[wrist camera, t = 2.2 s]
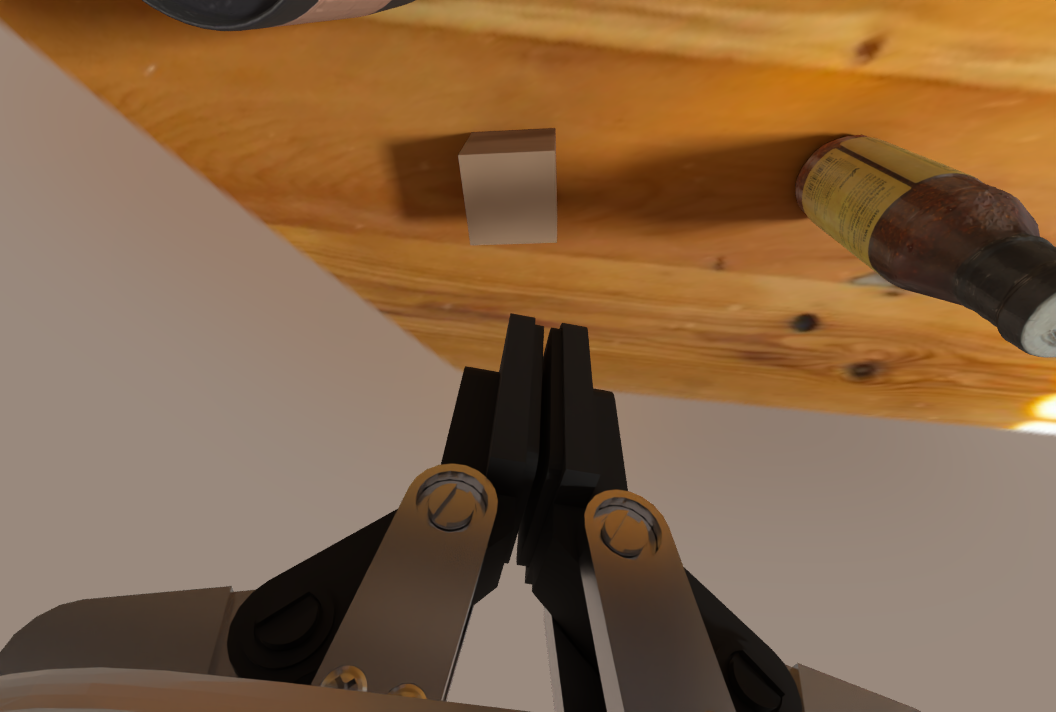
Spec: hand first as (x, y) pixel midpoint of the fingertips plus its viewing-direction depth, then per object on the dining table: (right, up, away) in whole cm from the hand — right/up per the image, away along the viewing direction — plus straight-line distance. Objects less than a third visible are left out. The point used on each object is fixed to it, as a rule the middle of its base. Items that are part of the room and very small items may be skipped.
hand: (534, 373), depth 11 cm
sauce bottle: (+22, +14, +25) cm, 36 cm away
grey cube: (-1, +14, +26) cm, 29 cm away
